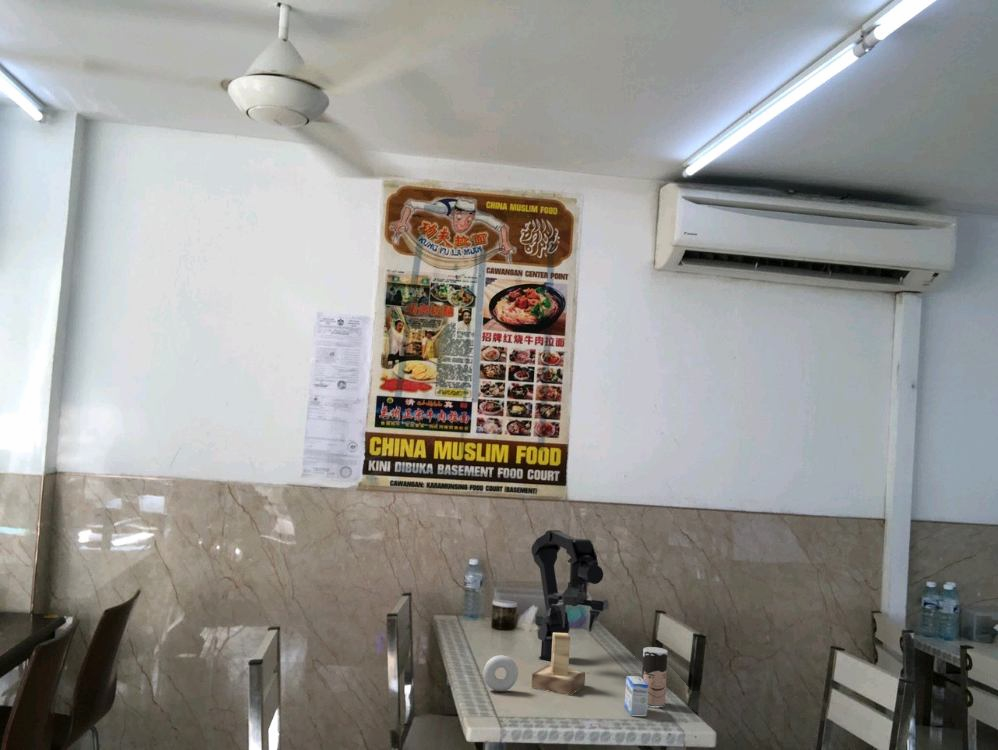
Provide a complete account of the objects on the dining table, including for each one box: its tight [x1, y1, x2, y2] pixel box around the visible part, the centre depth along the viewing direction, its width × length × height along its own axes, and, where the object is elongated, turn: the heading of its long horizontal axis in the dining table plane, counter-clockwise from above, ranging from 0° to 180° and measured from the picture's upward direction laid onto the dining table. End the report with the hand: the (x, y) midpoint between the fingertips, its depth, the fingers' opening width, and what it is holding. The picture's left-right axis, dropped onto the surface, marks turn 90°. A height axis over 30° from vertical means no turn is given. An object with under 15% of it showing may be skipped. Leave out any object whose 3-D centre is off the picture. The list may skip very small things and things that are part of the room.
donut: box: [482, 654, 519, 692], centre depth 246 cm, size 10×4×10 cm, turn 96°
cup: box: [641, 646, 669, 706], centre depth 243 cm, size 7×7×15 cm
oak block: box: [550, 633, 571, 675], centre depth 254 cm, size 4×4×11 cm
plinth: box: [531, 664, 586, 696], centre depth 254 cm, size 12×12×4 cm
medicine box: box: [623, 675, 648, 716], centre depth 234 cm, size 8×4×9 cm, turn 5°
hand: (576, 629), depth 272 cm, fingers open, 9 cm apart
